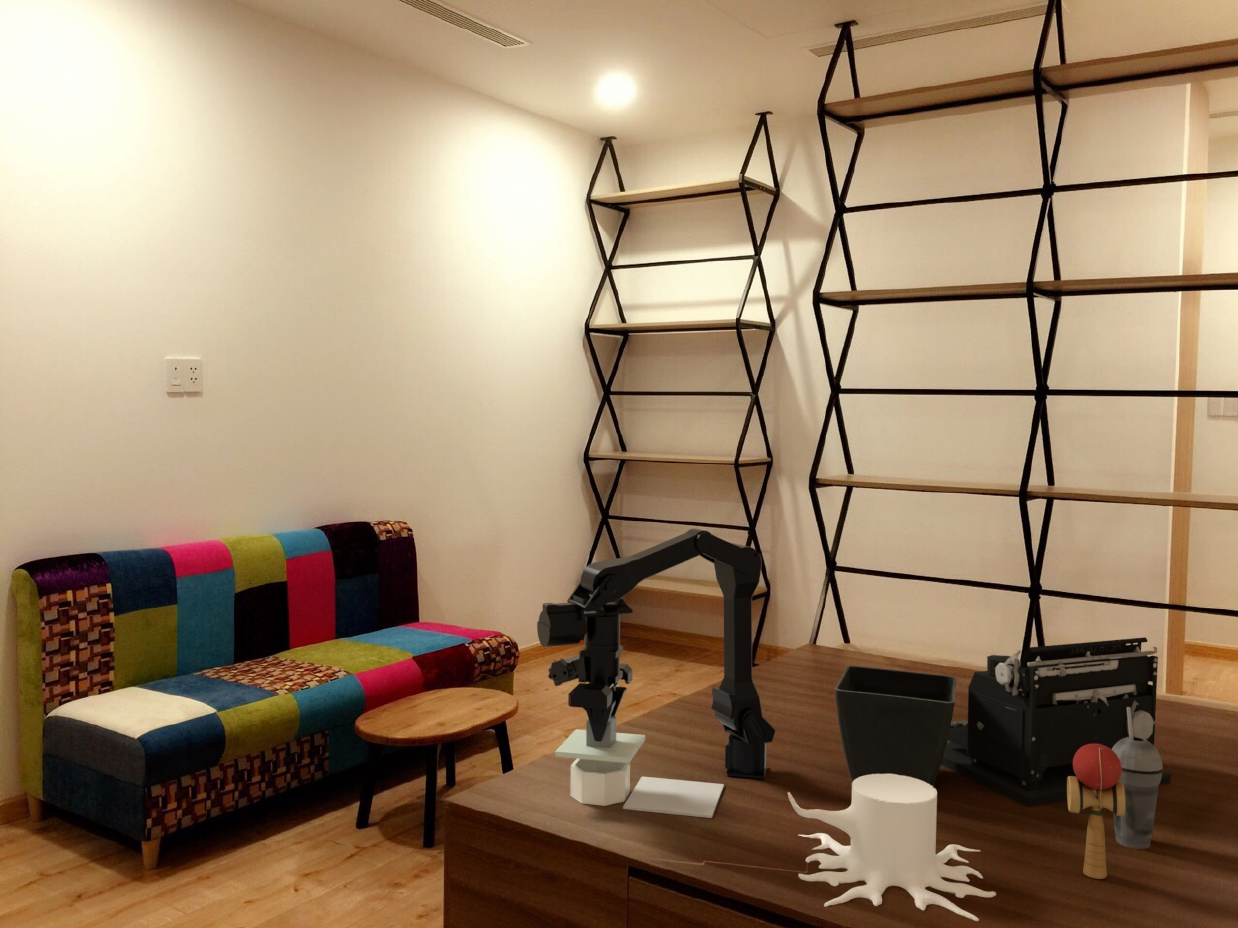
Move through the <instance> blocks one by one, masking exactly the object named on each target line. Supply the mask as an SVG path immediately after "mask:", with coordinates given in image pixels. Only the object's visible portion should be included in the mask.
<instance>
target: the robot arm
mask: <svg viewBox="0 0 1238 928" xmlns="http://www.w3.org/2000/svg"><path fill="white" fill-rule="evenodd" d="M696 557H701V558H702V559H704V560H706V561H708V562H710V563H712V564H713V565H714V571H715V578H716V580H717V584H718V586H719V588H720V590H721V593H722V596H723V679H722V680H721V682H720V685H719V687H718V686H712V688H711V693H712V705H711V710H712V711H714V716H715V718H716V719H717V721H718V722H720V723H721V726H722V728H723V730H724V732H726V733H728V734H729V736H728V741H727V742H726V743H725V746H724V752H725V753H724V768H725V769H727V770H726V774H725V775H726V776H729V777H730V776H731V777H741V778H749V779H760V780H761V779H762V780H763V779H765V778H766V774H767V771H768V763H767V744H768V743H772V742H773V740H774V738H775V733H776V730H775V728H774V727H773V726H772V725H771V724H770V723H769V722H768V721H767V719H765V718H764V717H763V710H762V705H761V704H762V703H761V699H760V695H759V693H758V690H757V688H756V686H755V682H754V680H753V602H752V601H753V595H754V594H755V592H756V590H757V588H758V585H759V583H760V580H761V573H762V568H763V567H762V565H763V561H762V560H763V559H762V556H761V554H760V553H759V552H758V551H757V550H756V549H755V548H753V547H750V546H747V545H743V544H737V543H734V542H733V543H732V542H730V541H726V540H724V539H723V538H721V537H718V536H717V535H714V534H712V533H711V532H710V531H708V530H704V529H699V528H690V529H688V530H687V531H686V532H684V533H682V534H680V535H676V536H675V537H672V538H670V539H668V540H666V541H663V542H660V543H658V544H656V545H653V546H652V547H649V548H646V549H644V550H642V551H638V552H637V553H635V554H631V555H629V556H625V557H619V558H609V559H605V560H601V561H596V562H591V563H589V564H588V565H586V566H585V567H584V569H583V571H582V573H581V576H580V581H579V583H578V584H577V585H576V587H575V588H574V589H573V592H572V593H571V594H570V596H569V598H568V599H567V601H566V602H562V603H561V602H558V603H555V602H543V603H542V611H541V612H540V613H539V617H538V621H537V622H536V624H537V625H536V626H537V629H536V630H537V638H538V640H539V643H540V645H541V647H543V648H549V647H551V648H552V647H561V646H571V645H573V646H574V645H578V644H580V642H581V641H584V647H583V648H581V650H580V651H579V654H578V655H574V656H571V657H568V658H565V659H564V658H562V657H561V658H560V659H558V660H554V661H551V665H550V666H549V667H548V672H549V673H548V675H547V678H549V680H552V681H553V684H554V687H557V686H561V685H563V684H564V683H568V682H571V681H575V680H577V679H578V681H577V682H578V684H577V685H576V686H575V687H574V688H573V689H572V690H571V691H569V693H568V700H567V701H568V702H567V703H568V706H569V707H571V708H581V709H583V710H584V711H585V712H586V715H587V717H588V719H589V722H590V726H591V729H592V733H593V737H594V740H595V741H598V742H601V741H602V738H603V736H604V733H605V730H606V727H607V725H608V722H609V719H610V716H617V712H618V710H619V708H620V705H621V703H622V701H623V699H624V696H625V694H626V692H627V689H628V688H627V687H626V686H619V681H620V680H624V683H625V684H626V685H630V683H632V681H633V669H632V667H631V666H630V665H629V664H628V663H621V659H620V658H621V654H623V651H624V646H623V645H621V615H625V614H627V615H628V614H633V612H634V610H633V608H631V607H630V606H629V605H628V603H626V601H625V599H623V597H625V596H626V595H628V594H629V593H630V592H632V591H634V589H635V588H636V587H637V586H638V584H640V583H641V582H642V581H644V580H645V579H648V578H650V577H653V576H656V575H658V574H659V573H662V572H664V571H666V570H669V569H672V568H673V567H676V566H678V565H681V564H683V563H685V562H687V561H690V560H692V559H694V558H696ZM589 597H590V598H589Z"/></svg>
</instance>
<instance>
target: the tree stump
mask: <svg viewBox="0 0 1238 928" xmlns="http://www.w3.org/2000/svg"><path fill="white" fill-rule="evenodd" d="M787 796H788V800H789V802H790V803H791V806H792V808H793V809H794V812H796V813H797V815H799V817H800V816H801V817H803V818H807V819H815V820H819V821H822V822H823V823H825V824H828V825H830V826H834V827H836V828H838V829H839V830H841V831H843V832H845V833H846V834H847V835H848V836H849V838H850V845H843V844H841V843H840V842H838V841H836V840H835V839H834V838H832V837H831V836H830V835H829V834H827V833H824V832H817V833H814V834H809V835H806V834H798V836H801V837H804V838H810V839H820V841H821V845H818V846H816V847H815V846H814V847H813V848H812V849H811V851H812V850H813V851H814V850H816V851H817V850H825V849H831V850H832V851H833V852H834V853H835V854H837V855H830V854H828V853H822V852H817V853H813V854H811V855H808V856H807V857H806V858H805V862H806V864H809V863H810V862H814V861H818V862H819V863H820V864H819V865H818V869H823V871H821V872H816V873H812V874H803V873H798V876H797V877H798V878H799V879H800V880H802V881H806V882H825V883H828V884H830V885H831V886H833V887H837V886H839V885H840V884H849V883H856V882H859V881H860V882H861V881H862V882H865V883H866V884H864V885H859V886H858V885H857V886H854V887H852V888H850V889H849V890H847V891H846V892H844V893H842V894H841V895H840V896H838V897H835V898H832V899H830V900H829V901H826V902H825V903H824V904H823V906H824V907H825V908H826V907H829V906H834V905H839V904H843V903H846V902H849V901H850V900H853V899H857V898H863V899H864V898H865V899H867V900H870V901H871V902H872V904H873V905H874V907H878V906H879V905H882V903H883V898H882V895H883V894H884V892H885V891H886V889H887V888H888V887H892V886H894V887H900V888H902V889H904V890H905V891H906V892H907V893H909V894H910V896H911V897H912V898H913V899H914V904H915V907H916V908H918V909H920V910H922V911H925V910H926V908H927V906H928V905H937V906H939V907H940V906H941V907H942V908H943V907H944V908H945V909H947V910H949V911H951V912H953V913H955V914H956V915H959V916H962V917H966V918H968V919H970V920H973V921H976V922H978V921H980V919H979V918H978V917H977V916H976V915H975V914H972V913H970V912H968V911H966V910H964V909H962V908H960V907H959V906H957V905H956V904H955V903H953V902H952V901H950V900H949V899H948V898H945V897H944V896H942V895H940V894H938V893H935V892H932V891H930V890H927V889H926V888H927V887H930V888H932V889H935V890H938V891H942V892H946V893H950V894H954V895H955V897H957V898H961V899H962V898H963V899H964V897H965V896H966V895H967V896H969V895H970V896H978V897H980V898H981V897H982V898H993V897H995V896H997V892H996V891H993V890H992V891H985V890H982V889H980V888H977V887H975V886H972V885H969V884H966V883H962V882H968V883H969V882H970V881H971V880H970V879H969V877H968V876H967V875H970V874H971V875H975V876H976V877H978V878H980V879H984V877H983V875H982V873H980V871H978V870H975V869H974V868H971V867H970V866H967V865H956V866H952V865H951V866H950V865H947V864H945V863H947V862H948V860H950V859H953V860H956V861H958V862H961V863H962V862H963V863H966V864H968V863H970V862H969V861H968V860H967V859H964V858H962V857H960V856H959V855H958V851H964V852H981V850H980V849H973V848H969V847H968V848H967V847H964V846H962V845H959V844H954V843H953V844H949V845H947V846H946V847H945V848H944V849H942V850H941V851H940V852H938V853H936V850H937V849H936V848H937V845H936V843H937V842H936V841H937V811H938V810H937V809H938V808H937V807H938V806H937V805H938V791H937V789H936V788H935V787H934V786H931V785H930V784H927V783H926V782H924V781H921V780H919V779H915V778H912V777H907V776H901V775H896V774H871V775H865V776H860V777H858V778H856V780H854V781H851V803H850V805H849V807H847V808H845V809H842V810H841V809H840V810H825V809H820V808H819V809H818V808H816V809H815V808H814V809H805V808H801V807H800V806H799V805H798V803H797V802H796V800H795V798H794V797H793V794H791V792H790V791H788V792H787ZM837 869H845V871H841V872H840V871H828V870H837ZM824 870H827V871H824ZM943 878H947V879H951V880H955V881H958V882H951V881H946V880H944V879H943ZM959 881H960V882H959Z"/></svg>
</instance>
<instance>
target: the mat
mask: <svg viewBox="0 0 1238 928" xmlns="http://www.w3.org/2000/svg"><path fill="white" fill-rule="evenodd" d="M724 787H725V785H724V783H715V782H714V783H713V782H706V781H705V782H704V781H694V780H693V781H692V780H682V779H673V778H670V779H669V778H663V777H662V778H661V777H652V776H651V777H650V776H641V777H640V779H639V780H638V782H637V783H636V786H635V787H634V788H633V790H632V791H631V792H630V794H629V795H628V797H627V798H626V800H625V803H624V804H623V806H622V810H630V811H640V812H648V813H649V812H650V813H657V814H658V813H661V814H668V815H679V816H687V817H690V816H691V817H695V818H696V817H698V818H708V819H712V818H713V816H714V813H715V811H716V808H717V805H718V803H719V801H720V798H721V796H722V792H723V789H724Z"/></svg>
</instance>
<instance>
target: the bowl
mask: <svg viewBox="0 0 1238 928" xmlns="http://www.w3.org/2000/svg"><path fill="white" fill-rule="evenodd" d="M569 786H570V789H569V790H570V791H569V793H570V794H569V796H570V797H571V798H573V799H574V800H576V801H577V802H578V803H581V804H584V805H594V806H602V807H605V806H610V805H613V804H619V803H624V802H626V801H627V799H628V798H629V796H630V795H631V762H630V763H622V762H610V761H599V760H588V759H577V758H575V760H574V761H573V762H572V763H571V764H570V785H569Z"/></svg>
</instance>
